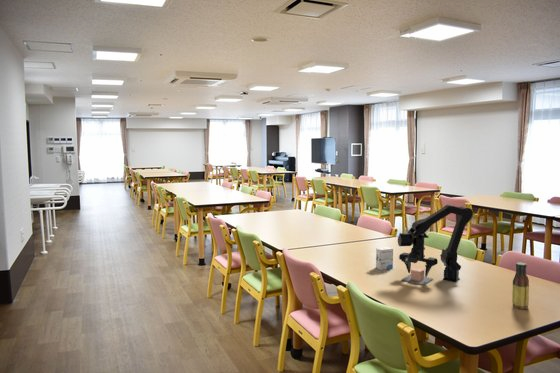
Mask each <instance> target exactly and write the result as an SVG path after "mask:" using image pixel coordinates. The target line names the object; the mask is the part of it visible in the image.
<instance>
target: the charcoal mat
mask: <svg viewBox="0 0 560 373" xmlns="http://www.w3.org/2000/svg"><path fill="white" fill-rule="evenodd" d="M402 280H404V281H403V282H406V281H408V282H407V283H411V282H412V284H415V283H416V285H419V286H425V285H427V284H429V283H430V282H432V281H433V280H434V278H432V277H428V276H427V277H425V276H424V279H423V280H421V281H417V280H413V279H411V273H409V275H406V276H405V277H403V278H401V281H402Z"/></svg>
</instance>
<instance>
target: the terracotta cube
mask: <svg viewBox="0 0 560 373" xmlns="http://www.w3.org/2000/svg"><path fill="white" fill-rule="evenodd" d="M410 274H411V279H413V280H417V281H421V280H423V279H424V277H425V269H424V268H419V267H414V268H412V269H411V270H410Z"/></svg>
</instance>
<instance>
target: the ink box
mask: <svg viewBox="0 0 560 373" xmlns="http://www.w3.org/2000/svg"><path fill="white" fill-rule="evenodd" d="M375 250H376V251H375V252H376V253H375V254H376V255H375V257H376V258H375V268H376V269H377V270H379V271H385V270H391V269H393V268H394V267H393V266H394V248H391V247H388V246H385V247H377V248H376V249H375Z"/></svg>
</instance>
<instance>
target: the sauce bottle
mask: <svg viewBox="0 0 560 373" xmlns="http://www.w3.org/2000/svg"><path fill="white" fill-rule="evenodd" d="M527 267H528V265H527V263H525V262H520V261H519V262H515V275H514V277H513V279H512V291H511V292H512V298H511V299H512V300H511V303H512V306H513V308H515V309H518V310H528V309H529V305H530V304H529V302H530V282H529V281H530V280H529V277H528V275H527Z"/></svg>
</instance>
